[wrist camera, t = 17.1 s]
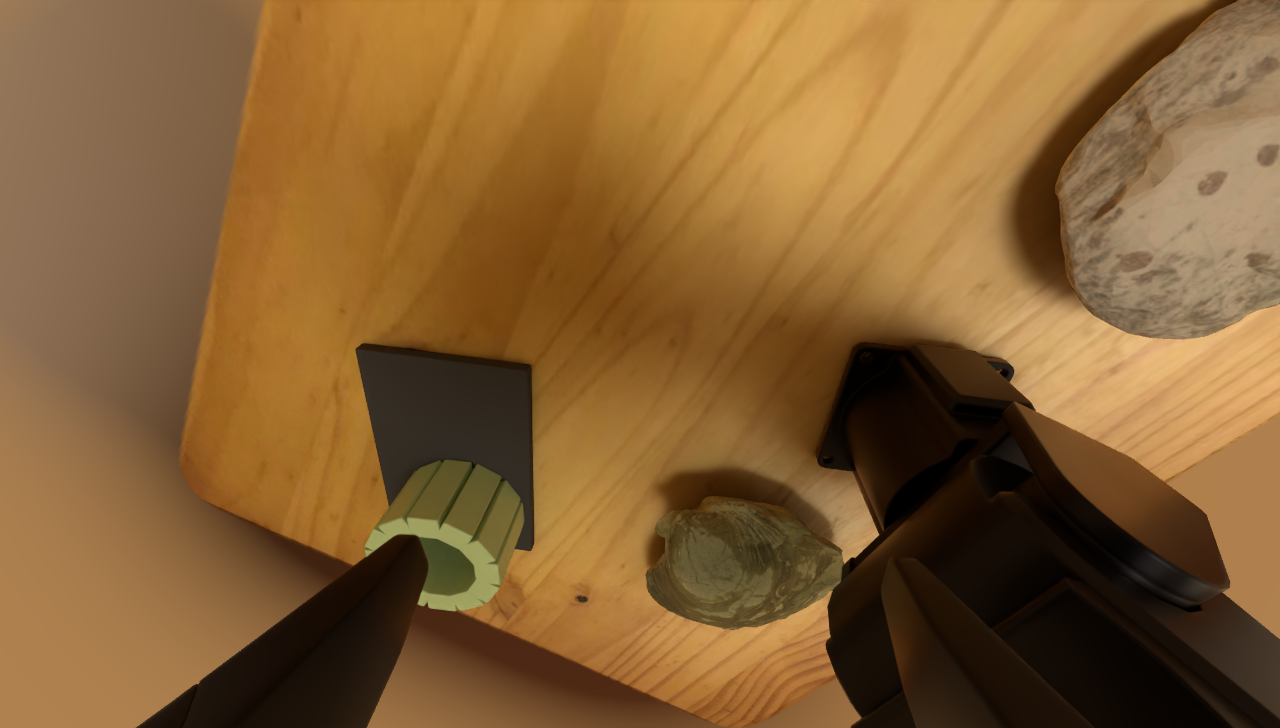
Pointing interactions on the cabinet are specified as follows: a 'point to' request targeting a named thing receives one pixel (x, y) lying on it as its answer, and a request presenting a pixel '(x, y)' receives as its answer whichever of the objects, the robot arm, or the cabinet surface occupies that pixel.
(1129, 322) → the decorative stone
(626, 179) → the cabinet surface
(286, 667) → the robot arm
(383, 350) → the pad
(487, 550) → the ring
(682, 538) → the seashell
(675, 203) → the cabinet surface
